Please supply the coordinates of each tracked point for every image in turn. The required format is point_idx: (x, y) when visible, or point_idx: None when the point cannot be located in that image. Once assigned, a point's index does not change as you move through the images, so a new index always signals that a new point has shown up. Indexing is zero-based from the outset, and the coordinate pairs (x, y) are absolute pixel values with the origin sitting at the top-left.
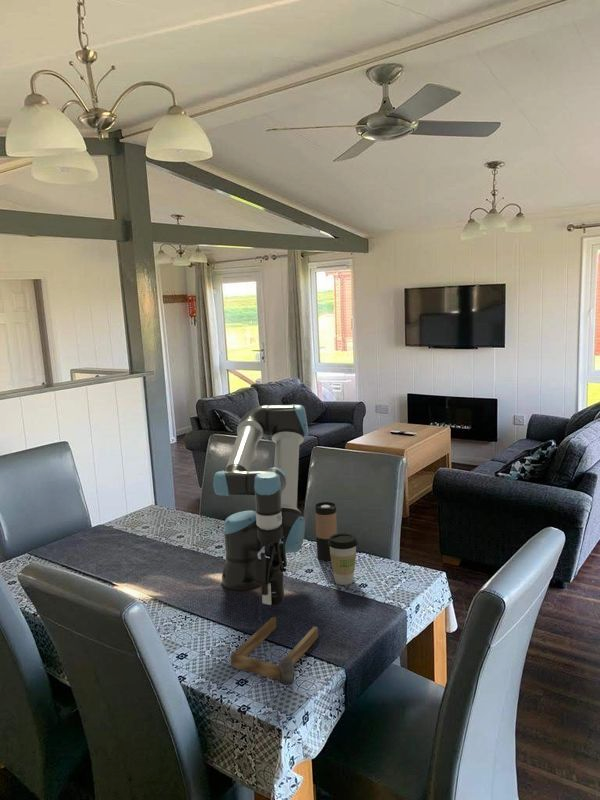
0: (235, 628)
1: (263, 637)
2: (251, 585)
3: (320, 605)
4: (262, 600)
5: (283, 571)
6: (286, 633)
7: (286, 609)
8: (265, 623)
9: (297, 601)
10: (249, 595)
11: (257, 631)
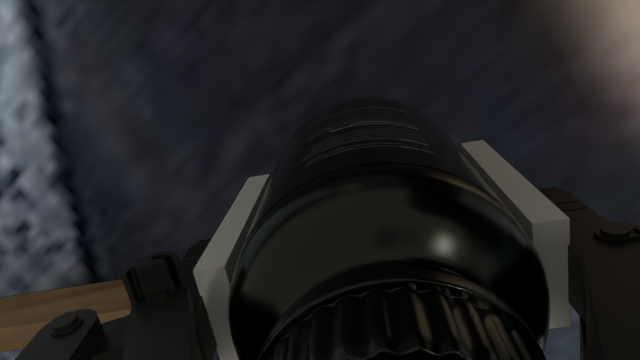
0: (51, 92)
1: None
2: None
3: (571, 341)
4: (244, 187)
5: (580, 345)
6: (214, 357)
7: None
8: (114, 313)
9: None
10: None
11: (19, 329)
